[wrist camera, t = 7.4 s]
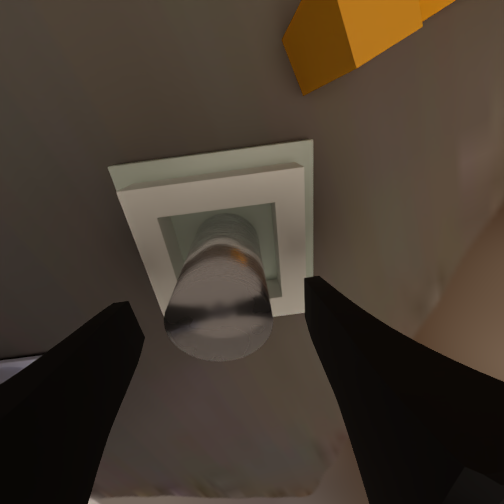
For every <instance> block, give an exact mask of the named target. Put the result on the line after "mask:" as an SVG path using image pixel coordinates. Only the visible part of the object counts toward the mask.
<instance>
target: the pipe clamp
mask: <svg viewBox="0 0 504 504" xmlns="http://www.w3.org/2000/svg"><path fill="white" fill-rule="evenodd" d="M454 1H455V0H301V2H300V4H299V6H298V8H297V10H296V12H295V14H294V16H293V18H292V20H291V22H290V24H289V26H288V28H287V30H286V32H285V34H284V36H283V38H282V42H283V45H284V47H285V50H286V53H287V55H288V58H289V60H290V63H291V65H292V68H293V71H294V73H295V76H296V78H297V81H298V84H299V86H300V89H301V91H302V94H303V96H304V95H306V94H308V93H310V92H312V91H314V90H316V89H318V88H319V87H321V86H323V85H325V84H327V83H329V82H331V81H333V80H335V79H337V78H339V77H341V76H343V75H345V74H347V73H349V72H351V71H352V70H354V69H356V68H358V67H360V66H361V65H363V64H364V63H366V62H367V61H369V60H371V59H372V58H374V57H375V56H377V55H378V54H380V53H382V52H383V51H385V50H386V49H388V48H390V47H391V46H393V45H394V44H396V43H397V42H399V41H401V40H402V39H404V38H405V37H407V36H408V35H410V34H412V33H413V32H415V31H416V30H418V29H420V28H421V27H423V24H422V22H423V21H424V20H426V19H427V18H429V17H430V16H432V15H433V14H435V13H437V12H438V11H440V10H441V9H443V8H444V7H446V6H447V5H449V4H451V3H452V2H454Z"/></svg>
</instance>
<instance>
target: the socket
mask: <svg viewBox="0 0 504 504" xmlns="http://www.w3.org/2000/svg"><path fill="white" fill-rule="evenodd" d="M108 170H109V172H110V175H111V178H112V180H113V183H114V186H115V188H116V191H117V192H116V193H117V196H118V198H119V201H120V203H121V206H122V209H123V211H124V214H125V217H126V219H127V222H128V224H129V227H130V230H131V232H132V235H133V237H134V240H135V243H136V245H137V248H138V251H139V253H140V256H141V258H142V261H143V264H144V266H145V269H146V272H147V274H148V277H149V279H150V282H151V285H152V287H153V290H154V292H155V295H156V298H157V300H158V303H159V306H160V308H161V311H162V313H163V316H164V315H165V311H166V308H167V306H168V303H169V301H170V298H171V296H172V293H173V291H174V288H175V286H176V283H177V281H178V278H179V276H180V273H181V270H182V268H183V265H184V263H185V260H186V258H187V255H188V253H189V250H190V248H191V245H192V243H193V240H194V238H195V235H196V233H197V230H198V228H199V227H200V225H201V224H202V223H203V222H204V221H205V220H207V219H208V218H210V217H212V216H214V215H217V214H223V213H230V214H235V215H238V216H241V217H243V218H244V219H246V220H247V221H249V222H250V223H251V224H252V226H253V227H254V228H255V230H256V232H257V235H258V239H259V245H260V250H261V256H262V261H263V266H264V272H265V277H266V283H267V288H268V294H269V299H270V304H271V310H272V315H273V317H275V316H283V315H290V314H298V313H305V302H304V278H307V277H313V139H304V140H296V141H289V142H281V143H274V144H266V145H259V146H251V147H244V148H236V149H229V150H221V151H214V152H206V153H199V154H191V155H184V156H176V157H169V158H161V159H154V160H146V161H139V162H131V163H124V164H116V165H113V166H109V167H108Z"/></svg>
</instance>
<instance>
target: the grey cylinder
mask: <svg viewBox="0 0 504 504" xmlns="http://www.w3.org/2000/svg"><path fill="white" fill-rule="evenodd" d="M164 325H165V329H166V332H167V334H168V336H169V338H170V339H171V341H172V342H173V343H174V344H175V345H176V346H177V347H178V348H179V349H181V350H182V351H184V352H185V353H187V354H189V355H191V356H193V357H196V358H199V359H203V360H208V361H231V360H235V359H239V358H242V357H245V356H247V355H249V354H251V353H253V352H255V351H256V350H258V349H259V348H260V347H261V346H262V345H263V344H264V343H265V342H266V341H267V339H268V337H269V336H270V333H271V331H272V327H273V315H272V310H271V304H270V299H269V294H268V288H267V283H266V277H265V272H264V266H263V261H262V256H261V250H260V245H259V239H258V235H257V232H256V230H255V228H254V227H253V226H252V224H251V223H250V222H249V221H247V220H246V219H244V218H243V217H241V216H238V215H235V214H230V213H223V214H217V215H214V216H212V217H210V218H208V219H207V220H205V221H204V222H203V223H202V224H201V225H200V227H199V228H198V230H197V233H196V235H195V238H194V240H193V243H192V245H191V248H190V250H189V253H188V255H187V258H186V260H185V263H184V265H183V268H182V270H181V273H180V276H179V278H178V281H177V283H176V286H175V288H174V291H173V293H172V296H171V298H170V301H169V303H168V306H167V308H166V311H165V315H164Z"/></svg>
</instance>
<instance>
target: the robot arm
mask: <svg viewBox="0 0 504 504" xmlns="http://www.w3.org/2000/svg"><path fill="white" fill-rule="evenodd" d="M304 302H305V319H306V322H307V326H308V329H309V333H310V336H311V339H312V342H313V344H314V346H315V349H316V351H317V354H318V356H319V358H320V361H321V363H322V365H323V368H324V370H325V372H326V375H327V377H328V380H329V382H330V384H331V387H332V389H333V391H334V394H335V396H336V399H337V402H338V404H339V407H340V410H341V413H342V416H343V420H344V423H345V426H346V429H347V432H348V435H349V438H350V441H351V444H352V448H353V451H354V454H355V457H356V460H357V463H358V467H359V470H360V474H361V477H362V480H363V484H364V487H365V490H366V494H367V497H368V501H369V504H504V382H503V381H500V380H498V379H495V378H493V377H491V376H489V375H486V374H484V373H481V372H479V371H477V370H474V369H472V368H470V367H468V366H465V365H463V364H461V363H459V362H456V361H454V360H452V359H450V358H448V357H446V356H444V355H442V354H440V353H438V352H436V351H434V350H432V349H430V348H428V347H426V346H424V345H422V344H420V343H418V342H416V341H414V340H412V339H411V338H409V337H407V336H405V335H403V334H402V333H400V332H398V331H396V330H395V329H393V328H391V327H389V326H388V325H386V324H385V323H383V322H381V321H380V320H378V319H377V318H375V317H374V316H372V315H371V314H369V313H368V312H366V311H365V310H363V309H362V308H360V307H359V306H357V305H356V304H355V303H353V302H352V301H351V300H349V299H348V298H346V297H345V296H344V295H343V294H341V293H340V292H339V291H337V290H336V289H335V288H334V287H332V286H331V285H330V284H329V283H327V282H326V281H325V280H324V279H322V278H321V277H320V276H314V277H307V278H304ZM144 339H145V337H144V334H143V332H142V330H141V328H140V326H139V323H138V321H137V319H136V317H135V315H134V312H133V310H132V308H131V306H130V304H129V301H126V302H118V303H113V304H111V305H110V306H108V307H107V308H105V309H104V310H103V311H101V312H100V313H98V314H97V315H96V316H94V317H93V318H92V319H90V320H89V321H88V322H86V323H85V324H84V325H83V326H81V327H80V328H79V329H77V330H76V331H75V332H73V333H72V334H71V335H69V336H68V337H67V338H65V339H64V340H63V341H61V342H60V343H59V344H57V345H56V346H55V347H53V348H52V349H50V350H49V351H48V352H46V353H45V354H44V355H40V356H32V357H24V358H17V359H9V360H1V361H0V504H88V501H89V498H90V495H91V491H92V488H93V484H94V481H95V477H96V474H97V470H98V467H99V464H100V461H101V457H102V454H103V451H104V448H105V445H106V442H107V438H108V435H109V433H110V430H111V427H112V425H113V422H114V420H115V417H116V415H117V412H118V410H119V408H120V405H121V403H122V400H123V398H124V396H125V393H126V391H127V389H128V386H129V384H130V381H131V379H132V376H133V374H134V372H135V369H136V367H137V364H138V361H139V358H140V354H141V351H142V347H143V343H144Z"/></svg>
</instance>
